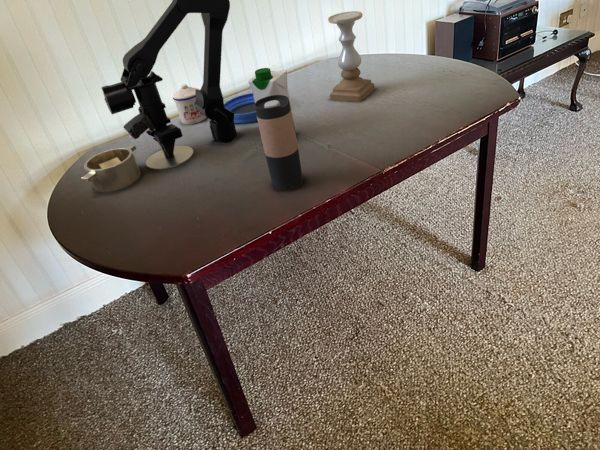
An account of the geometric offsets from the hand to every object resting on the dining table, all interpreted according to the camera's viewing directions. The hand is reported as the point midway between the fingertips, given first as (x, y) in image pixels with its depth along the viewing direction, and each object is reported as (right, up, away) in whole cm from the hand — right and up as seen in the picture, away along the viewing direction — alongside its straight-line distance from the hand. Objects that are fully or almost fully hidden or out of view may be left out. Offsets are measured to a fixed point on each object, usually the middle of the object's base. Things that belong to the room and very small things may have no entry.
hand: (169, 155), depth 130 cm
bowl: (+21, +17, +21) cm, 34 cm away
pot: (-12, -8, -5) cm, 15 cm away
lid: (0, -1, 0) cm, 1 cm away
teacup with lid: (+3, +16, +25) cm, 30 cm away
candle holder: (+54, +22, +20) cm, 61 cm away
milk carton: (+31, +5, +1) cm, 31 cm away
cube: (-12, -7, -5) cm, 15 cm away
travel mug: (+34, -10, -20) cm, 40 cm away
